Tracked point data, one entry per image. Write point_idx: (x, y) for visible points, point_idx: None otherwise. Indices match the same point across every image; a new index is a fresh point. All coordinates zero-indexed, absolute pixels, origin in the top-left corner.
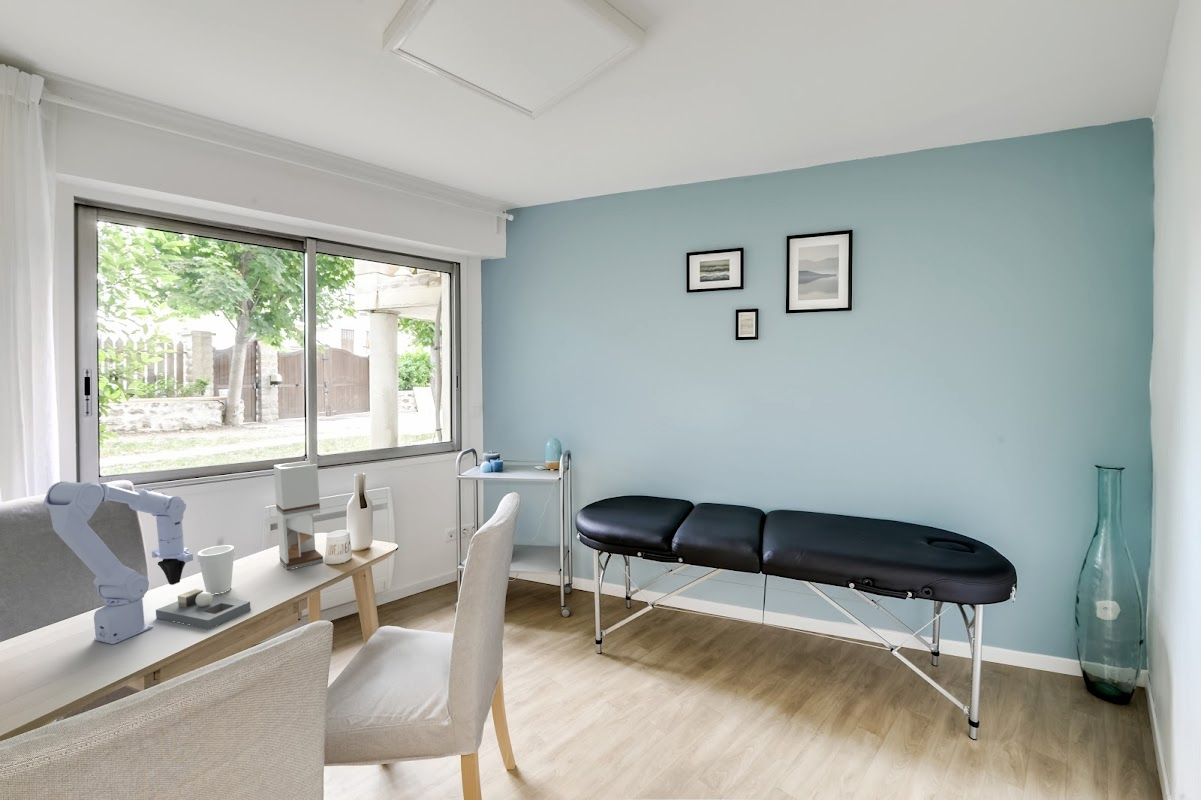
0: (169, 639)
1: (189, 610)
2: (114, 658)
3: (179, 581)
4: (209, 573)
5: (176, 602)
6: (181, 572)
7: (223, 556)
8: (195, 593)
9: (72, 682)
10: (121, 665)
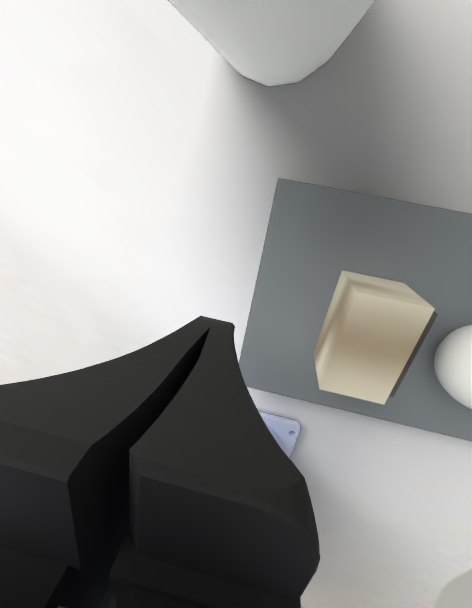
0: (429, 480)
1: (410, 388)
2: (345, 541)
3: (233, 329)
4: (313, 30)
5: (260, 314)
6: (237, 365)
7: None
8: (411, 353)
9: (340, 595)
10: (395, 565)
